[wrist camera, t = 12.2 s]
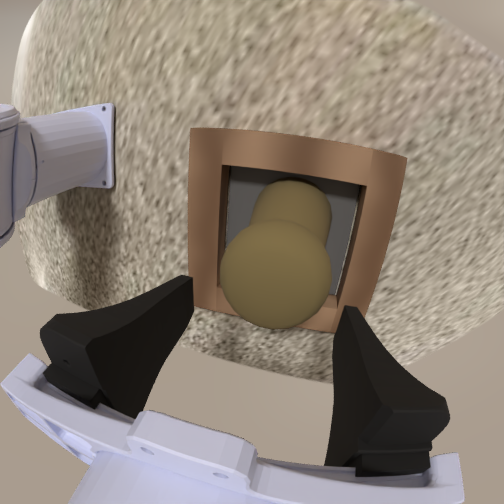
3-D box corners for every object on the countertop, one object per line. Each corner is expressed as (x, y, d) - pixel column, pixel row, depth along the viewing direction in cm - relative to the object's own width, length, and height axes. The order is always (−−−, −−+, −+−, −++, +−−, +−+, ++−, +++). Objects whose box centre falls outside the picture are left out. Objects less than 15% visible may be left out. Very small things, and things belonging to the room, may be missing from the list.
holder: (197, 293, 27) (189, 305, 25) (201, 127, 20) (190, 127, 18) (355, 322, 24) (357, 336, 23) (399, 155, 18) (407, 158, 16)
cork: (317, 261, 23) (312, 362, 13) (245, 239, 23) (193, 324, 13) (343, 191, 20) (367, 254, 10) (264, 166, 20) (213, 206, 11)
